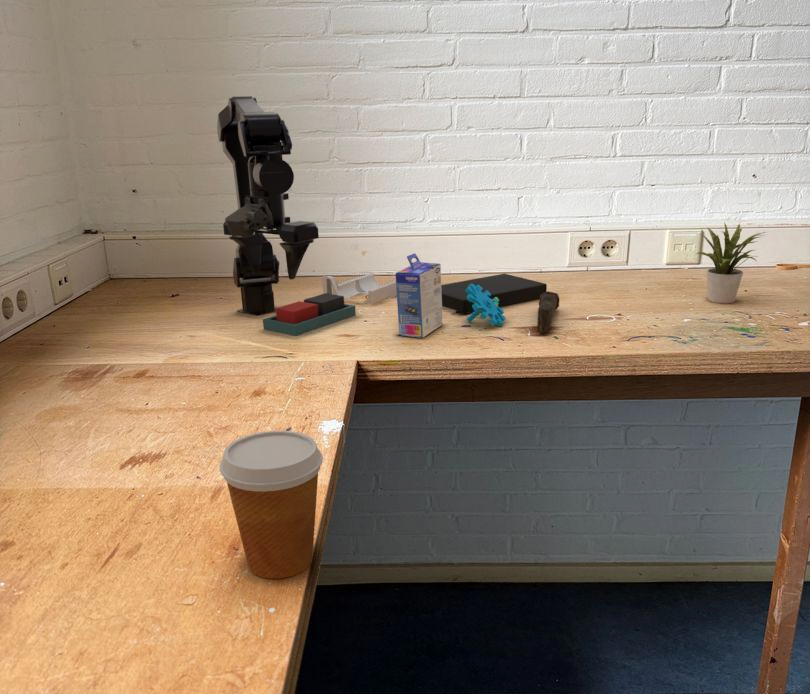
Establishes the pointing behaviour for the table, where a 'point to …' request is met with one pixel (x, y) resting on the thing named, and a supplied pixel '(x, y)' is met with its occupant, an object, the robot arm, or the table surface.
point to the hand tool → (547, 310)
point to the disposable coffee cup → (274, 499)
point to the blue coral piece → (484, 305)
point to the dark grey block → (327, 303)
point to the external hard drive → (492, 291)
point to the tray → (309, 322)
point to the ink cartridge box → (419, 298)
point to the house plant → (726, 266)
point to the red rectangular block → (297, 312)
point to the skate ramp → (360, 288)
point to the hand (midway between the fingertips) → (273, 276)
